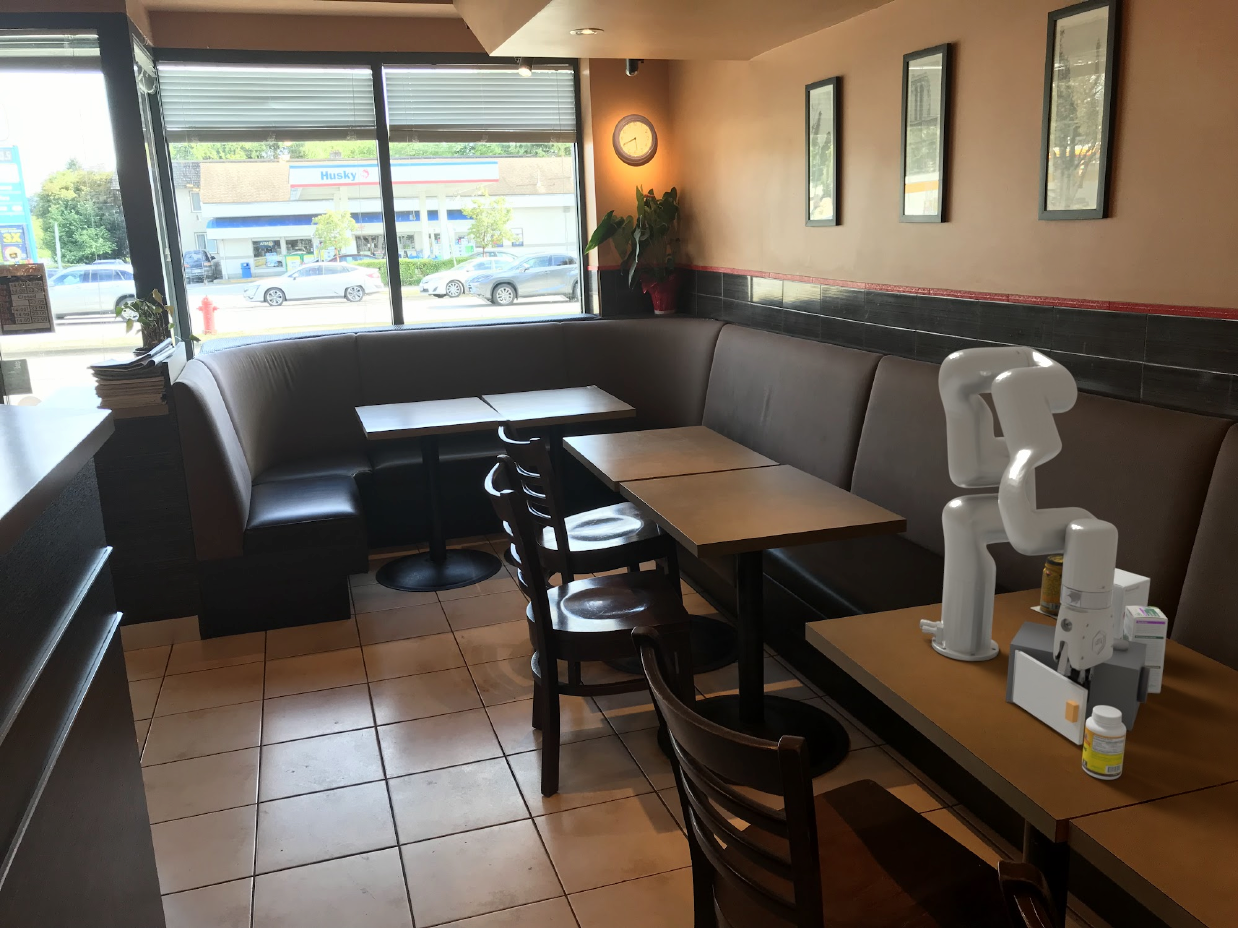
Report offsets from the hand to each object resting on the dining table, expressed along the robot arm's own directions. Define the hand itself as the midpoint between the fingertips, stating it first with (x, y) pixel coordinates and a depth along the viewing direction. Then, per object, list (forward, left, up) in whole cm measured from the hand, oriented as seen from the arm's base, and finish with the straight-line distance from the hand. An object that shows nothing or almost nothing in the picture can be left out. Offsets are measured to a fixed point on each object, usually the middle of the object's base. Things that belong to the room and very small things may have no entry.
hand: (1077, 700), depth 160 cm
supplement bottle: (+6, -11, -6) cm, 14 cm away
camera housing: (-2, +11, -6) cm, 12 cm away
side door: (-5, -1, -5) cm, 7 cm away
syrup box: (+7, +24, -6) cm, 26 cm away
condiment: (-12, +54, -6) cm, 56 cm away
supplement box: (0, +40, -6) cm, 40 cm away
